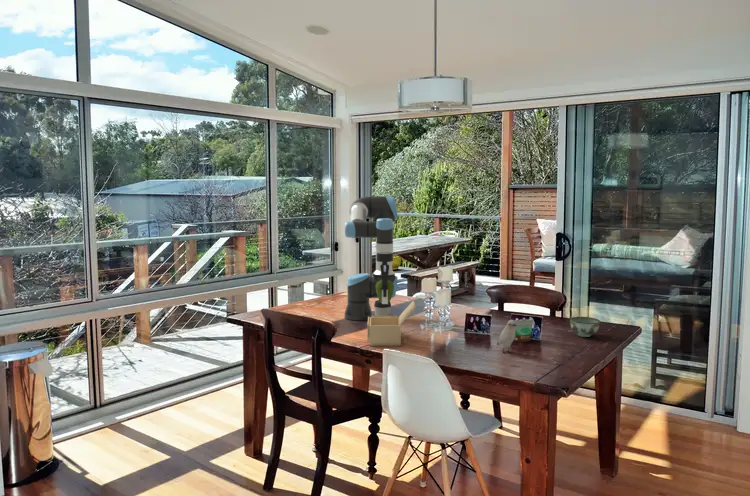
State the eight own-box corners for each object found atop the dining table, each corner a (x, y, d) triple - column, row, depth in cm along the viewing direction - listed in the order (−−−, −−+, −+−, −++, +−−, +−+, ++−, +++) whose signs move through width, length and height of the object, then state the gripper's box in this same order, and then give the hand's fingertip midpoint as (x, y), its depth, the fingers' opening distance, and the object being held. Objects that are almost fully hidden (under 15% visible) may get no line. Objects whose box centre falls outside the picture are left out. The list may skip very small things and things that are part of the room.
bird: (511, 357, 258) (512, 322, 256) (492, 349, 270) (493, 315, 269) (521, 356, 260) (521, 321, 258) (502, 348, 272) (502, 314, 271)
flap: (399, 316, 292) (413, 300, 292) (400, 316, 293) (414, 301, 292) (400, 324, 277) (415, 307, 276) (401, 324, 277) (416, 308, 276)
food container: (518, 344, 279) (518, 322, 278) (509, 340, 285) (509, 319, 284) (539, 340, 285) (539, 319, 284) (530, 337, 290) (530, 316, 289)
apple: (372, 302, 286) (372, 278, 285) (389, 301, 289) (389, 276, 288) (380, 306, 278) (380, 280, 277) (397, 304, 281) (397, 279, 280)
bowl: (568, 338, 289) (568, 321, 288) (569, 331, 301) (570, 315, 300) (599, 341, 284) (600, 323, 283) (599, 334, 296) (600, 317, 296)
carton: (368, 335, 296) (368, 315, 294) (399, 335, 295) (399, 315, 294) (367, 346, 276) (367, 325, 275) (400, 346, 276) (400, 325, 275)
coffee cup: (389, 334, 298) (389, 303, 296) (372, 333, 299) (372, 302, 298) (392, 329, 306) (392, 300, 304) (376, 329, 308) (375, 299, 306)
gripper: (376, 249, 292) (376, 297, 294) (376, 255, 271) (376, 306, 273) (392, 249, 292) (392, 297, 294) (393, 255, 270) (393, 306, 273)
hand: (384, 301), depth 284 cm, fingers closed on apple, 8 cm apart
